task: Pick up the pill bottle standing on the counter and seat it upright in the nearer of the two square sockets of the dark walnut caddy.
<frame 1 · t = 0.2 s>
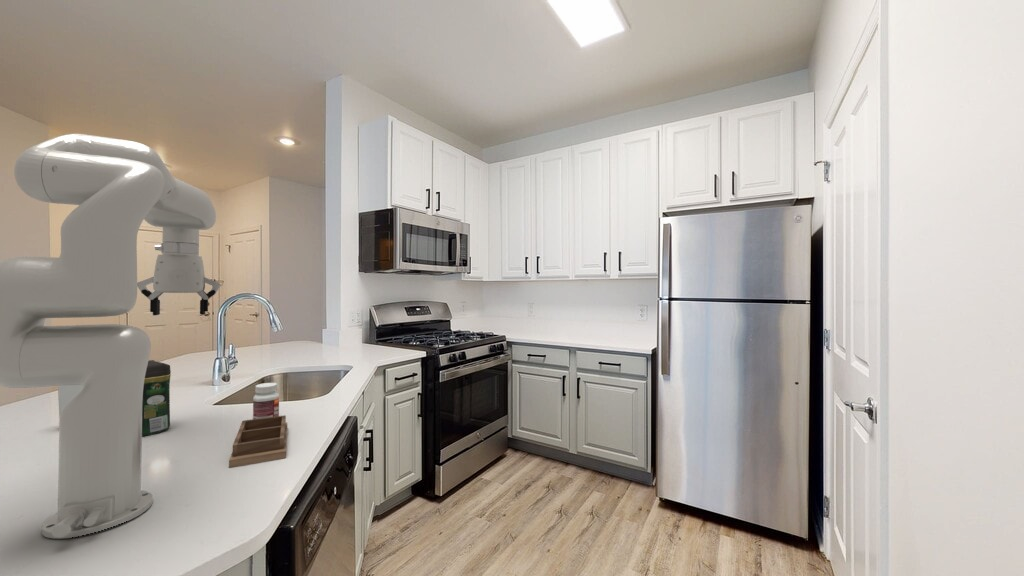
hand: (180, 314, 105), 31 cm above the counter, tool pointing down, fingers open, 9 cm apart
coffee jar: (148, 432, 104), on the counter
skincare box: (84, 427, 107), on the counter
caddy: (261, 445, 95), on the counter
pill bottle: (266, 426, 109), on the counter
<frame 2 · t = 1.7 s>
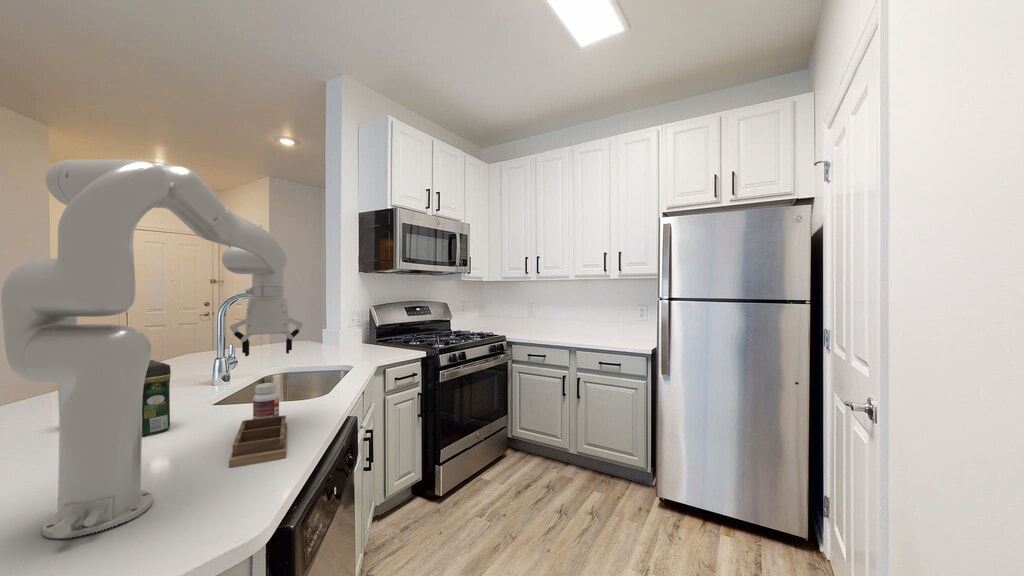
hand: (267, 354, 110), 20 cm above the counter, tool pointing down, fingers open, 9 cm apart
nothing on the counter moved.
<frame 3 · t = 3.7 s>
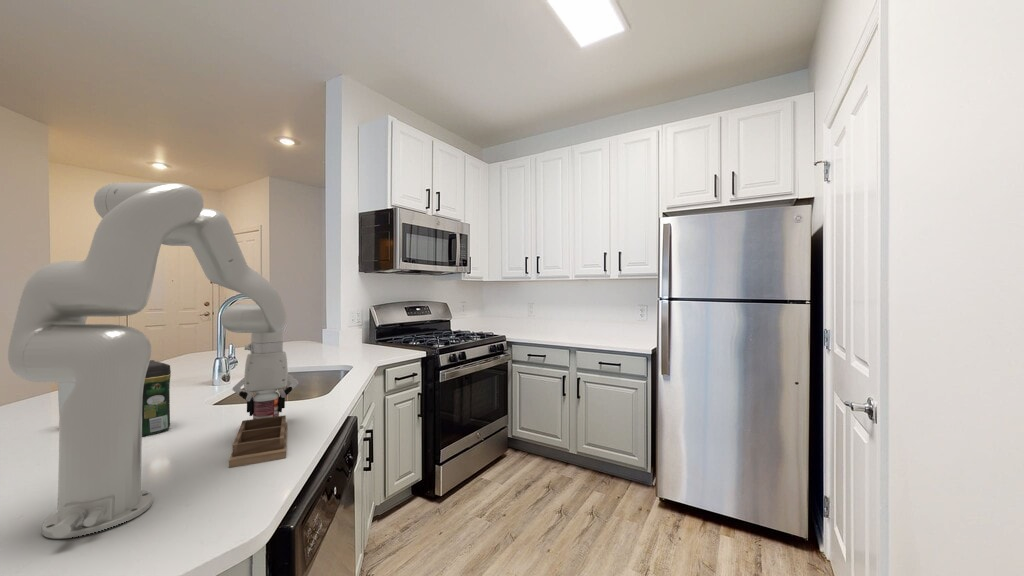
hand: (266, 412, 109), 4 cm above the counter, tool pointing down, fingers closed on pill bottle, 6 cm apart
pill bottle: (266, 426, 109), on the counter, touching gripper
everything else where it was.
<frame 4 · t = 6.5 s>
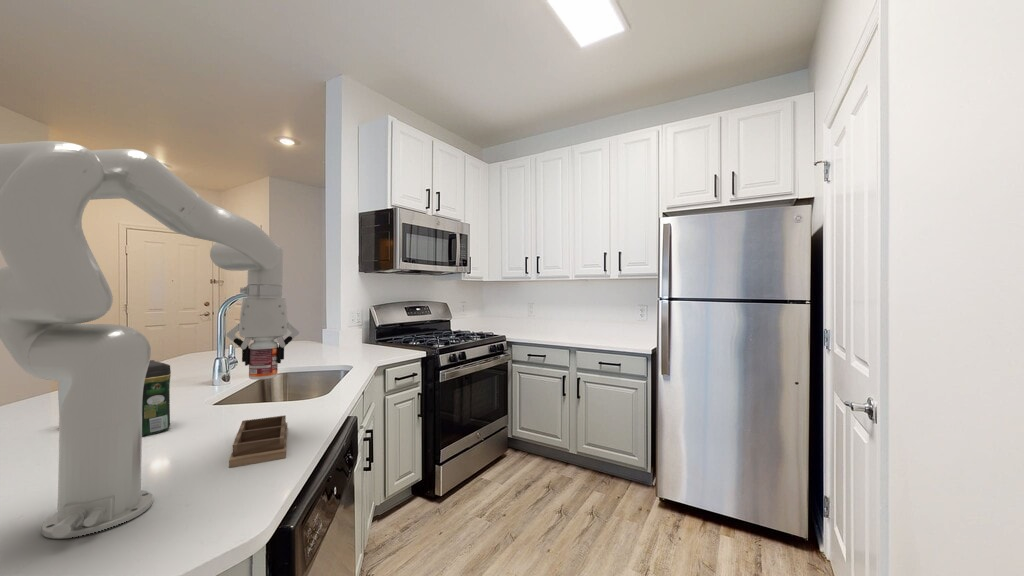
hand: (263, 363, 99), 19 cm above the counter, tool pointing down, fingers closed on pill bottle, 6 cm apart
pill bottle: (263, 378, 99), point 15 cm above the counter, touching gripper
everything else where it was.
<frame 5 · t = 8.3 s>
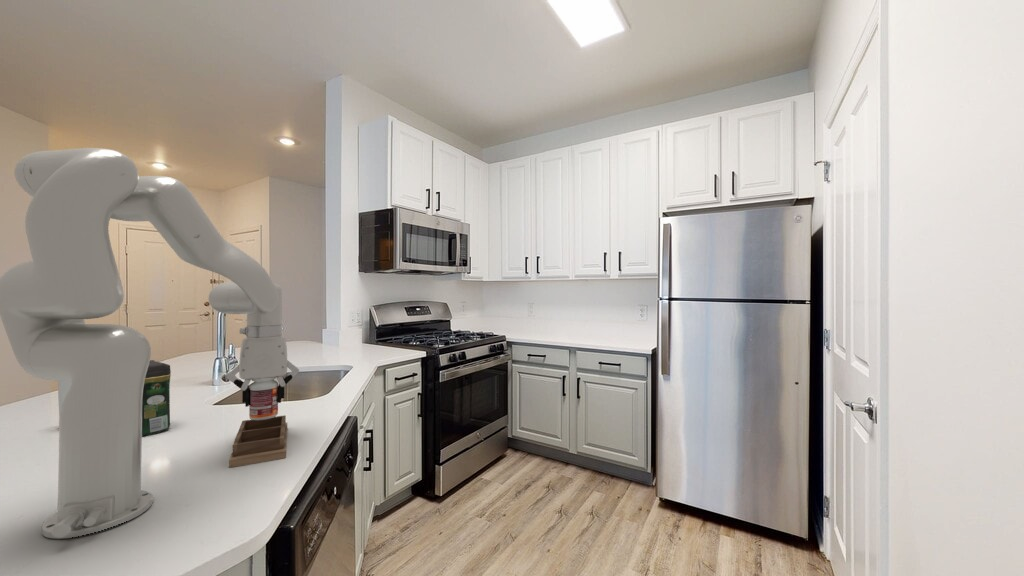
hand: (263, 402, 99), 9 cm above the counter, tool pointing down, fingers closed on pill bottle, 6 cm apart
pill bottle: (263, 417, 99), point 5 cm above the counter, touching gripper
everything else where it was.
when the fingers open (6 cm above the counter, at t = 9.8 s): pill bottle drops 1 cm, resting on caddy.
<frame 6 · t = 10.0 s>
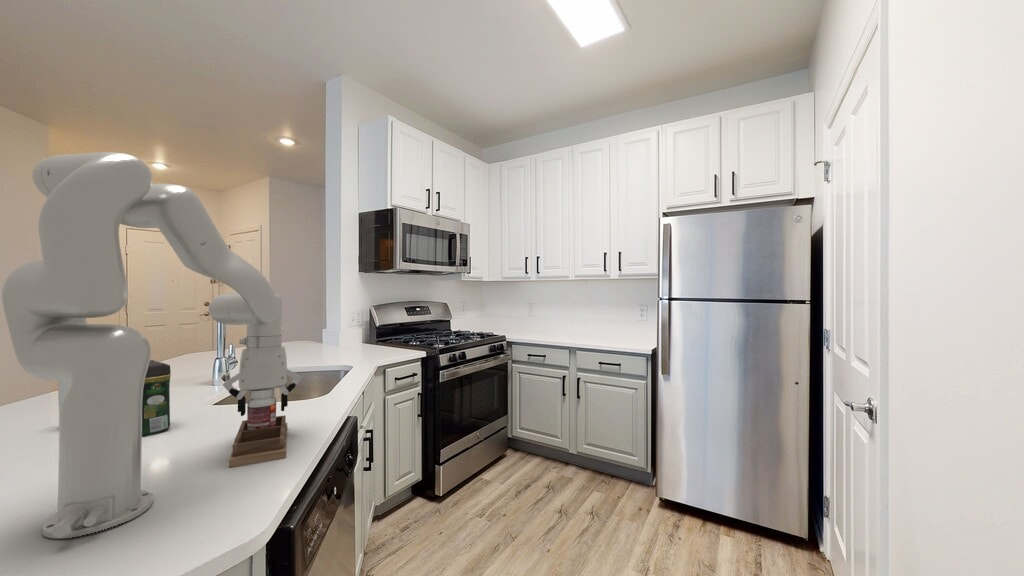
hand: (263, 411, 99), 7 cm above the counter, tool pointing down, fingers open, 8 cm apart
pill bottle: (261, 434, 99), point 1 cm above the counter, touching caddy
everything else where it was.
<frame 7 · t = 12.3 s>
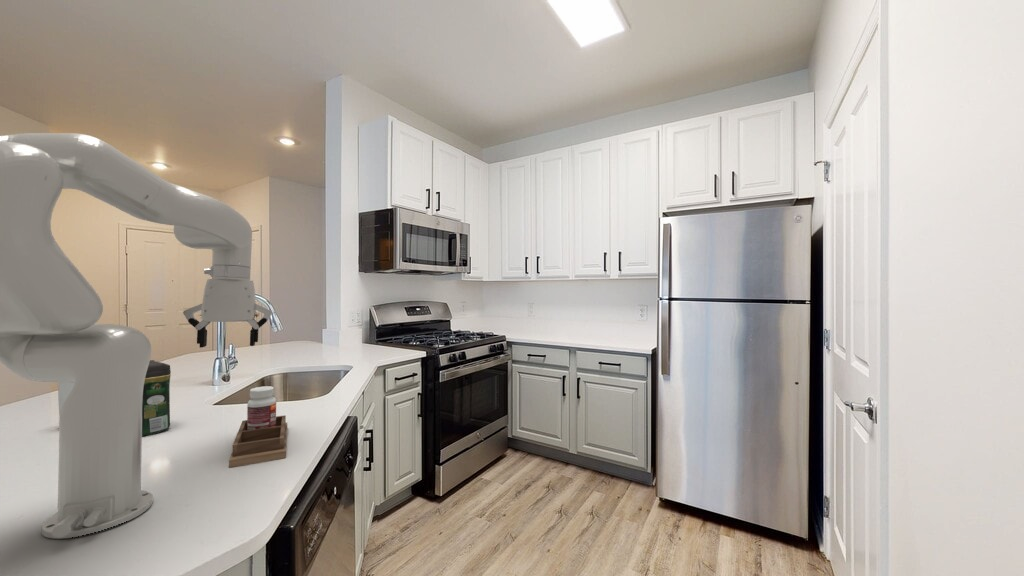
hand: (228, 346, 93), 24 cm above the counter, tool pointing down, fingers open, 9 cm apart
nothing on the counter moved.
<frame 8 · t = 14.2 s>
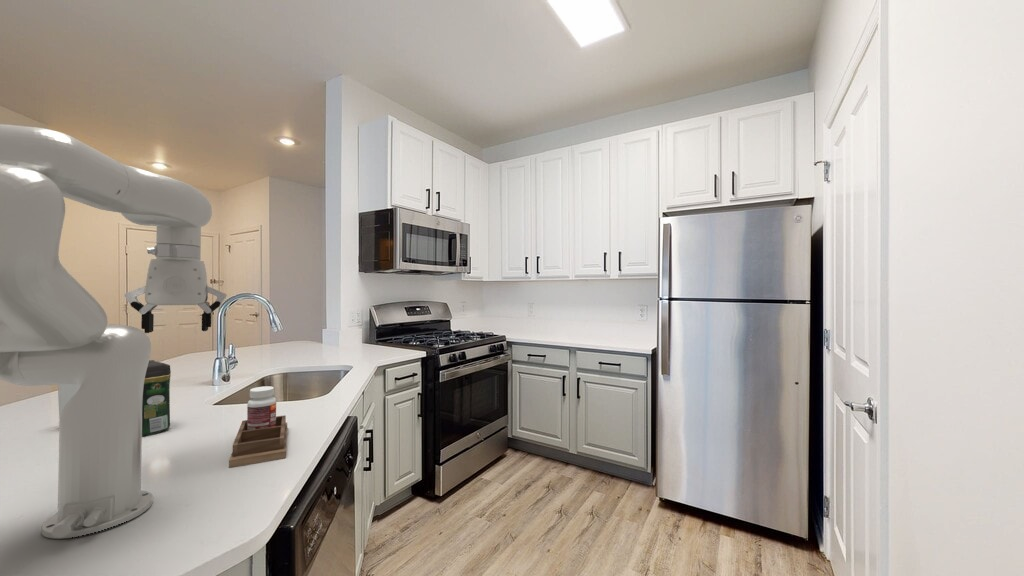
hand: (177, 331, 87), 28 cm above the counter, tool pointing down, fingers open, 9 cm apart
nothing on the counter moved.
at the end: pill bottle 0.3 cm from the target spot on the caddy, point 1.3 cm above the caddy's base; pill bottle tilted 0°; the gripper is holding nothing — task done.
